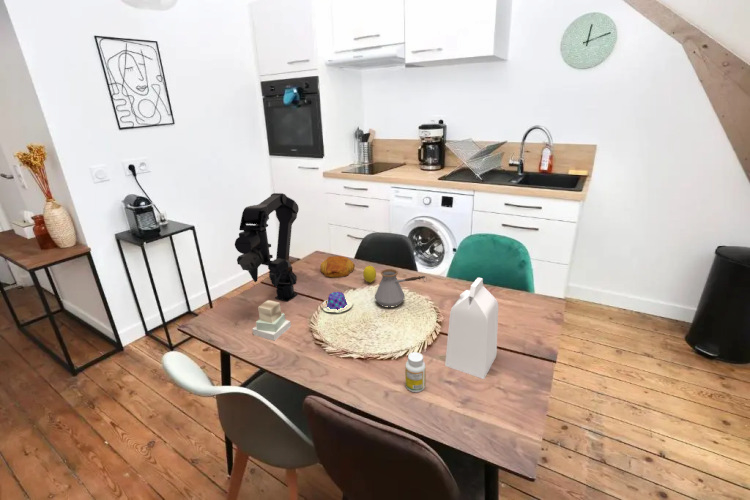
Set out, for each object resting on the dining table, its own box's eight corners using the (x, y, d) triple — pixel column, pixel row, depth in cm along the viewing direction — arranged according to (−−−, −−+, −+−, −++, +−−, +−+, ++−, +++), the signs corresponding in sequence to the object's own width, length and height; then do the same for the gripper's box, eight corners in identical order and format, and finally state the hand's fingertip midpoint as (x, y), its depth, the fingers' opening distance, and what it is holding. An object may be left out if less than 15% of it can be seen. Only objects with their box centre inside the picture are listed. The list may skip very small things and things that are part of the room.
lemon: (378, 280, 166) (377, 263, 163) (373, 286, 161) (373, 268, 158) (366, 279, 168) (365, 262, 165) (361, 284, 163) (360, 267, 160)
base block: (270, 323, 138) (269, 315, 137) (291, 328, 134) (290, 321, 133) (253, 336, 130) (252, 328, 129) (274, 342, 127) (273, 334, 125)
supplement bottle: (417, 395, 101) (418, 366, 97) (401, 387, 104) (401, 357, 101) (428, 384, 105) (429, 355, 101) (412, 376, 108) (412, 348, 104)
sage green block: (267, 318, 135) (266, 311, 134) (285, 320, 133) (284, 313, 132) (257, 329, 128) (255, 322, 127) (276, 332, 127) (275, 324, 126)
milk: (484, 379, 106) (491, 296, 97) (445, 365, 112) (448, 286, 102) (496, 355, 115) (504, 277, 106) (459, 344, 121) (464, 269, 112)
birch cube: (269, 312, 133) (267, 300, 131) (281, 315, 131) (279, 302, 129) (260, 319, 129) (258, 306, 127) (272, 323, 127) (270, 309, 125)
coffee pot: (368, 304, 146) (367, 269, 141) (385, 292, 155) (385, 258, 150) (417, 321, 135) (418, 282, 129) (433, 307, 143) (434, 270, 138)
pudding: (314, 310, 145) (313, 297, 143) (334, 296, 154) (333, 285, 152) (340, 318, 139) (339, 305, 137) (359, 303, 148) (358, 291, 146)
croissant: (325, 269, 184) (322, 254, 181) (357, 266, 181) (354, 250, 178) (317, 282, 170) (313, 265, 168) (351, 278, 168) (347, 261, 165)
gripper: (221, 247, 128) (229, 288, 134) (263, 255, 120) (270, 299, 126) (245, 236, 137) (252, 276, 143) (286, 243, 129) (291, 285, 135)
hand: (265, 283), depth 137 cm, fingers open, 9 cm apart
